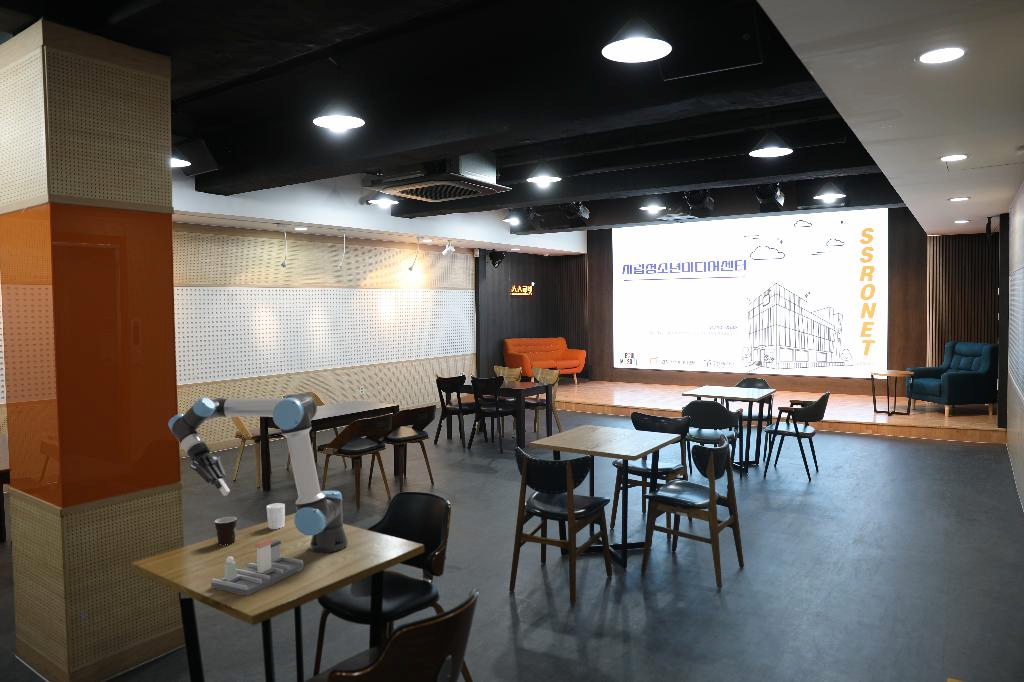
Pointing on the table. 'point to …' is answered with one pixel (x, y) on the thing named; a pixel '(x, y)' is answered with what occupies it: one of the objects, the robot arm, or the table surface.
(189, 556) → the table surface
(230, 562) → the sage knob slider
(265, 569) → the white tall block
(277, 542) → the grey slider
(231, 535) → the coffee mug
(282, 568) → the grey slotted tray
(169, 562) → the table surface
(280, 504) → the white cup
